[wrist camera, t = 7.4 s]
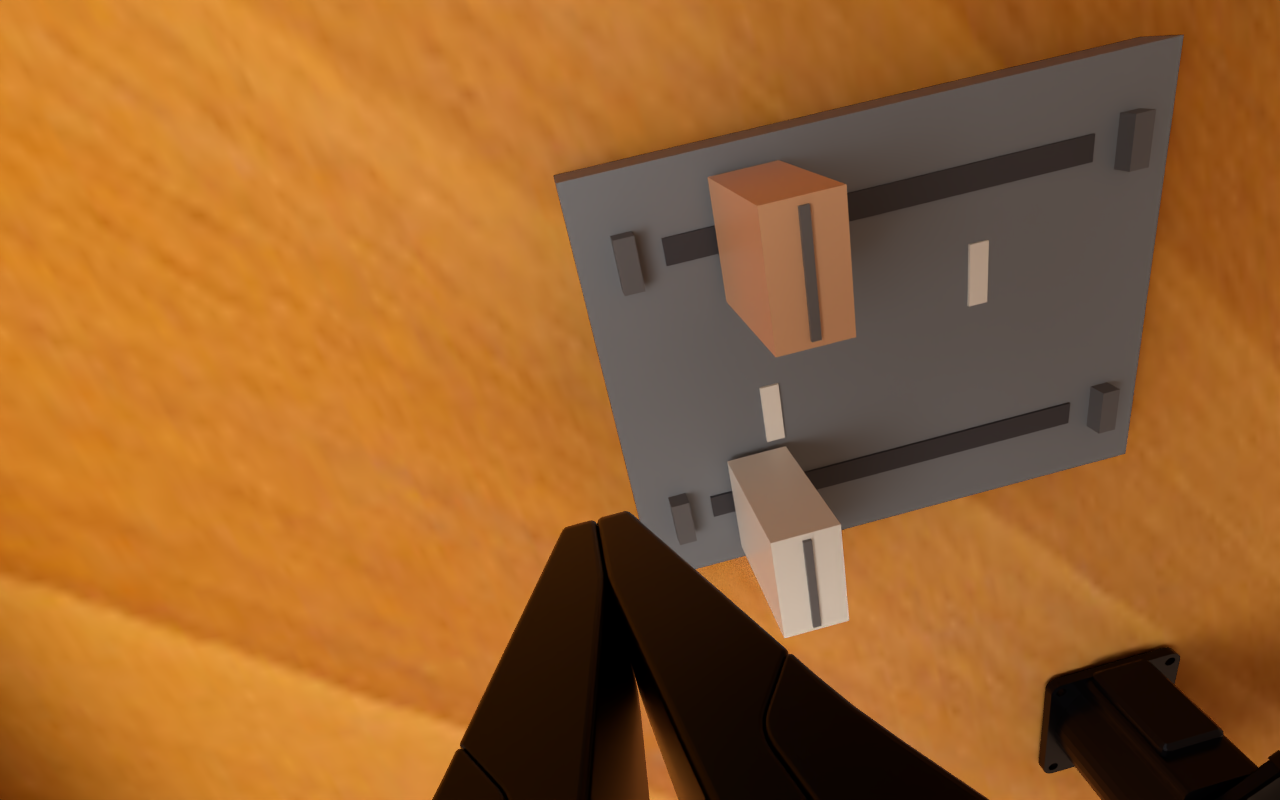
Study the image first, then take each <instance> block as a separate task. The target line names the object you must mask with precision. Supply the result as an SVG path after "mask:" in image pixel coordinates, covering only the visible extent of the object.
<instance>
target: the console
mask: <svg viewBox="0 0 1280 800" xmlns="http://www.w3.org/2000/svg"><path fill="white" fill-rule="evenodd" d="M1183 36H1184V35H1169V36H1148V37H1138V38H1134V39H1130V40H1125V41H1121V42H1117V43H1113V44H1109V45H1104V46H1100V47H1096V48H1092V49H1087V50H1083V51H1079V52H1075V53H1070V54H1066V55H1062V56H1058V57H1053V58H1049V59H1045V60H1041V61H1037V62H1032V63H1028V64H1024V65H1020V66H1015V67H1011V68H1007V69H1003V70H998V71H994V72H990V73H986V74H981V75H977V76H973V77H969V78H965V79H960V80H956V81H952V82H948V83H943V84H939V85H935V86H931V87H926V88H922V89H918V90H914V91H909V92H905V93H901V94H897V95H893V96H888V97H884V98H880V99H876V100H871V101H867V102H863V103H859V104H854V105H850V106H846V107H842V108H837V109H833V110H829V111H825V112H821V113H816V114H812V115H808V116H804V117H799V118H795V119H791V120H787V121H782V122H778V123H774V124H770V125H765V126H761V127H757V128H753V129H749V130H744V131H740V132H736V133H732V134H727V135H723V136H719V137H715V138H710V139H706V140H702V141H698V142H693V143H689V144H685V145H681V146H677V147H672V148H668V149H664V150H660V151H655V152H651V153H647V154H643V155H638V156H634V157H630V158H626V159H621V160H617V161H613V162H609V163H605V164H600V165H596V166H592V167H588V168H583V169H579V170H575V171H571V172H566V173H562V174H558V175H554V180H555V184H556V188H557V192H558V196H559V200H560V204H561V208H562V212H563V216H564V220H565V224H566V228H567V232H568V236H569V240H570V244H571V248H572V252H573V256H574V260H575V264H576V268H577V272H578V276H579V280H580V284H581V288H582V292H583V296H584V300H585V304H586V308H587V312H588V316H589V320H590V324H591V328H592V332H593V336H594V340H595V344H596V348H597V352H598V356H599V360H600V364H601V368H602V372H603V376H604V380H605V384H606V388H607V392H608V396H609V400H610V404H611V408H612V412H613V416H614V420H615V424H616V428H617V432H618V436H619V440H620V444H621V448H622V452H623V456H624V460H625V464H626V468H627V472H628V476H629V480H630V484H631V488H632V492H633V496H634V500H635V504H636V508H637V512H638V516H639V520H640V522H642V523H643V524H644V525H645V526H646V527H647V528H648V529H650V530H651V531H652V532H653V533H654V534H655V535H656V536H658V537H659V538H660V539H661V540H662V541H663V542H664V543H666V544H667V545H668V546H669V547H670V548H671V549H672V550H674V551H675V552H676V553H677V554H678V555H679V556H680V557H681V558H683V559H684V560H685V561H686V562H687V563H688V564H689V565H691V566H692V567H693V568H694V569H698V568H701V567H705V566H709V565H712V564H716V563H720V562H724V561H727V560H731V559H735V558H739V557H742V556H746V555H745V553H744V550H743V548H742V545H741V539H740V534H739V528H738V522H737V516H736V510H735V504H734V498H733V492H732V487H731V481H730V475H729V469H728V463H727V461H731V460H734V459H738V458H742V457H746V456H750V455H754V454H757V453H761V452H765V451H769V450H773V449H777V448H780V447H784V446H786V447H787V449H788V450H789V452H790V453H791V454H792V456H793V457H794V459H795V460H796V461H797V463H798V464H799V466H800V467H801V469H802V470H803V471H804V473H805V474H806V476H807V477H808V479H809V480H810V481H811V483H812V484H813V486H814V487H815V488H816V490H817V491H818V493H819V494H820V496H821V497H822V498H823V500H824V501H825V503H826V504H827V505H828V507H829V508H830V510H831V511H832V513H833V514H834V515H835V517H836V518H837V520H838V521H839V523H840V524H841V530H843V529H847V528H850V527H854V526H858V525H861V524H865V523H869V522H873V521H876V520H880V519H884V518H888V517H891V516H895V515H899V514H902V513H906V512H910V511H914V510H917V509H921V508H925V507H928V506H932V505H936V504H940V503H943V502H947V501H951V500H955V499H958V498H962V497H966V496H969V495H973V494H977V493H981V492H984V491H988V490H992V489H996V488H999V487H1003V486H1007V485H1010V484H1014V483H1018V482H1022V481H1025V480H1029V479H1033V478H1036V477H1040V476H1044V475H1048V474H1051V473H1055V472H1059V471H1063V470H1066V469H1070V468H1074V467H1077V466H1081V465H1085V464H1089V463H1092V462H1096V461H1100V460H1104V459H1107V458H1111V457H1115V456H1118V455H1122V454H1125V452H1126V445H1127V438H1128V430H1129V423H1130V416H1131V409H1132V402H1133V395H1134V387H1135V380H1136V373H1137V366H1138V359H1139V351H1140V344H1141V337H1142V330H1143V323H1144V316H1145V308H1146V301H1147V294H1148V287H1149V280H1150V273H1151V265H1152V258H1153V251H1154V244H1155V237H1156V229H1157V222H1158V215H1159V208H1160V201H1161V194H1162V186H1163V179H1164V172H1165V165H1166V158H1167V151H1168V143H1169V136H1170V129H1171V122H1172V115H1173V107H1174V100H1175V93H1176V86H1177V79H1178V72H1179V64H1180V57H1181V50H1182V43H1183ZM777 160H780V161H782V162H785V163H788V164H791V165H794V166H796V167H799V168H802V169H805V170H808V171H810V172H813V173H816V174H819V175H822V176H824V177H827V178H830V179H833V180H836V181H838V182H841V183H844V184H847V199H848V215H849V230H850V246H851V262H852V278H853V293H854V309H855V325H856V337H855V338H851V339H847V340H843V341H839V342H835V343H831V344H827V345H823V346H819V347H815V348H811V349H807V350H804V351H800V352H796V353H792V354H788V355H784V356H780V357H775V356H774V355H773V354H772V353H771V352H770V350H769V349H768V348H767V347H766V346H765V345H764V344H763V342H762V341H761V340H760V339H759V338H758V337H757V336H756V335H755V333H754V332H753V331H752V330H751V329H750V328H749V327H748V326H747V324H746V323H745V322H744V321H743V320H742V319H741V318H740V317H739V315H738V314H737V313H736V312H735V311H734V310H733V309H732V307H731V306H730V305H729V304H728V303H727V302H726V296H725V289H724V283H723V276H722V270H721V263H720V256H719V250H718V243H717V237H716V230H715V224H714V217H713V210H712V204H711V197H710V191H709V184H708V177H710V176H714V175H718V174H722V173H727V172H731V171H735V170H739V169H743V168H747V167H752V166H756V165H760V164H764V163H768V162H773V161H777Z"/></svg>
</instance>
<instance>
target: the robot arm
mask: <svg viewBox="0 0 1280 800" xmlns="http://www.w3.org/2000/svg"><path fill="white" fill-rule="evenodd" d="M597 525H598V526H597ZM1179 661H1180V656H1179V655H1178V654H1177V653H1176V652H1175V651H1174V650H1173V649H1172V648H1169V647H1167V648H1162V649H1159V650H1155V651H1152V652H1148V653H1145V654H1141V655H1138V656H1134V657H1131V658H1127V659H1124V660H1120V661H1117V662H1113V663H1109V664H1106V665H1102V666H1099V667H1095V668H1092V669H1088V670H1085V671H1081V672H1078V673H1074V674H1071V675H1067V676H1064V677H1060V678H1057V679H1054V680H1052V681H1051V682H1049V684H1048V685H1047V686H1046V691H1045V702H1044V712H1043V723H1042V733H1041V744H1040V754H1039V765H1040V766H1041V768H1042V769H1043V770H1044V772H1046V773H1054V772H1057V771H1061V770H1064V769H1068V768H1071V767H1074V766H1075V767H1076V768H1077V770H1078V771H1079V772H1080V773H1081V775H1082V776H1083V777H1084V778H1085V780H1086V781H1087V782H1088V783H1089V785H1090V786H1091V787H1092V788H1093V790H1094V791H1095V792H1096V794H1097V795H1098V796H1099V797H1100V799H1101V800H1280V751H1279V750H1278V751H1277V752H1275V753H1274V754H1272V755H1271V756H1269V757H1268V759H1270V760H1269V761H1267V762H1266V763H1264V764H1263V765H1261V766H1260V767H1259V768H1258V767H1257V766H1256V765H1255V764H1254V763H1253V762H1252V761H1251V760H1250V759H1249V758H1248V757H1247V756H1246V755H1245V754H1243V753H1242V752H1241V751H1240V750H1239V749H1238V748H1237V747H1236V746H1235V745H1234V744H1233V743H1232V742H1231V741H1230V740H1229V739H1228V738H1227V737H1226V736H1224V735H1223V731H1222V729H1221V728H1220V727H1219V726H1218V725H1217V724H1216V723H1215V722H1214V721H1213V720H1211V719H1210V718H1209V717H1208V716H1207V715H1206V714H1205V713H1204V712H1203V711H1202V710H1201V709H1200V708H1199V707H1198V706H1197V705H1196V704H1194V703H1193V702H1192V701H1191V700H1190V699H1189V698H1188V697H1187V696H1186V695H1185V694H1184V693H1183V692H1182V691H1181V690H1180V689H1179V688H1177V687H1176V686H1175V685H1174V684H1175V679H1176V675H1177V670H1178V665H1179ZM635 678H636V679H635ZM636 681H637V685H638V688H639V692H640V695H641V698H642V701H643V704H644V707H645V710H646V713H647V716H648V718H649V721H650V724H651V726H652V729H653V732H654V734H655V737H656V740H657V743H658V745H659V748H660V751H661V753H662V756H663V759H664V762H665V764H666V767H667V770H668V772H669V775H670V778H671V781H672V783H673V786H674V789H675V791H676V794H677V797H678V800H989V799H987V798H986V797H984V796H983V795H981V794H980V793H979V792H977V791H976V790H974V789H973V788H971V787H970V786H968V785H967V784H965V783H964V782H962V781H961V780H959V779H958V778H957V777H955V776H954V775H952V774H951V773H949V772H948V771H946V770H945V769H943V768H942V767H940V766H939V765H937V764H936V763H935V762H933V761H932V760H930V759H929V758H927V757H926V756H924V755H923V754H921V753H920V752H918V751H917V750H915V749H914V748H913V747H911V746H910V745H908V744H907V743H905V742H904V741H902V740H901V739H899V738H898V737H897V736H895V735H894V734H892V733H891V732H890V731H888V730H887V729H885V728H884V727H883V726H881V725H880V724H878V723H877V722H876V721H874V720H873V719H871V718H870V717H869V716H867V715H866V714H864V713H863V712H862V711H860V710H859V709H858V708H856V707H855V706H853V705H852V704H851V703H850V702H848V701H847V700H846V699H845V698H844V697H842V696H841V695H840V694H839V693H837V692H836V691H835V690H834V689H833V688H831V687H830V686H829V685H828V684H826V683H825V682H824V681H823V680H822V679H820V678H819V677H818V676H817V675H815V674H814V673H813V672H812V671H811V670H810V669H809V668H808V667H806V666H805V665H804V664H803V663H802V662H801V661H800V660H798V659H797V658H796V657H795V656H794V655H792V654H788V651H787V650H786V649H785V648H784V647H783V646H782V645H781V644H780V643H779V642H777V641H776V640H775V639H774V638H773V637H772V636H771V635H769V634H768V633H767V632H766V631H765V630H764V629H763V628H761V627H760V626H759V625H758V624H757V623H756V622H755V621H753V620H752V619H751V618H750V617H749V616H748V615H747V614H745V613H744V612H743V611H742V610H741V609H740V608H739V607H737V606H736V605H735V604H734V603H733V602H732V601H731V600H729V599H728V598H727V597H726V596H725V595H724V594H723V593H721V592H720V591H719V590H718V589H717V588H716V587H715V586H713V585H712V584H711V583H710V582H709V581H708V580H707V579H705V578H704V577H703V576H702V575H701V574H700V573H699V572H697V571H696V570H695V569H694V568H693V567H692V566H691V565H689V564H688V563H687V562H686V561H685V560H684V559H683V558H681V557H680V556H679V555H678V554H677V553H676V552H675V551H674V550H672V549H671V548H670V547H669V546H668V545H667V544H666V543H664V542H663V541H662V540H661V539H660V538H659V537H658V536H656V535H655V534H654V533H653V532H652V531H651V530H650V529H648V528H647V527H646V526H645V525H644V524H643V523H642V522H640V521H639V520H638V519H637V518H636V517H635V516H634V515H632V514H631V513H630V512H627V511H624V512H620V513H616V514H613V515H609V516H605V517H602V518H600V519H599V520H598V523H597V524H596V522H595V521H587V522H583V523H579V524H575V525H572V526H568V527H566V528H564V529H563V531H562V532H561V534H560V537H559V539H558V541H557V543H556V545H555V547H554V549H553V551H552V553H551V555H550V557H549V559H548V562H547V564H546V566H545V568H544V570H543V572H542V574H541V576H540V578H539V580H538V582H537V584H536V587H535V589H534V591H533V593H532V595H531V597H530V599H529V601H528V603H527V605H526V607H525V609H524V612H523V614H522V616H521V618H520V620H519V622H518V624H517V626H516V628H515V630H514V632H513V634H512V637H511V639H510V641H509V643H508V645H507V647H506V649H505V651H504V653H503V655H502V657H501V659H500V661H499V664H498V666H497V668H496V670H495V672H494V674H493V676H492V678H491V680H490V682H489V684H488V686H487V689H486V691H485V693H484V695H483V697H482V699H481V701H480V703H479V705H478V707H477V709H476V711H475V714H474V716H473V718H472V720H471V722H470V724H469V726H468V728H467V730H466V732H465V734H464V736H463V739H462V741H461V743H460V747H461V749H458V750H457V751H456V752H455V754H454V756H453V759H452V761H451V763H450V765H449V767H448V769H447V771H446V773H445V775H444V777H443V779H442V782H441V783H440V785H439V787H438V789H437V791H436V793H435V795H434V797H433V799H432V800H649V790H648V780H647V770H646V760H645V750H644V740H643V730H642V720H641V711H640V703H639V695H638V690H637V685H636Z"/></svg>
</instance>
